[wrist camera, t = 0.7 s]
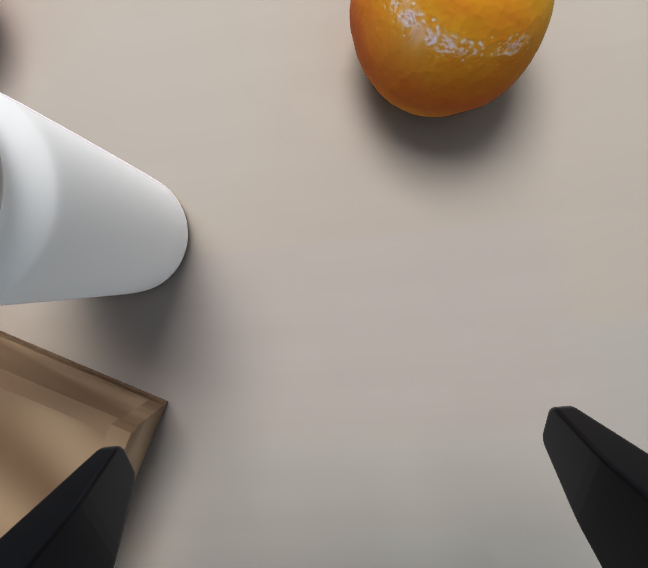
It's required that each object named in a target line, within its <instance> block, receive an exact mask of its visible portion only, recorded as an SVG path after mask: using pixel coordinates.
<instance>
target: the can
mask: <svg viewBox="0 0 648 568" xmlns="http://www.w3.org/2000/svg"><path fill="white" fill-rule="evenodd" d="M187 241H188V226H187V220H186V217H185V214H184V211H183V209H182V207H181V205H180V203H179V201H178V200H177V198H176V197H175V196H174V194H173V193H172V192H171V191H170V190H169V189H168V188H166V187H165V186H164V185H163V184H161V183H160V182H158V181H157V180H155V179H154V178H152V177H150V176H149V175H147V174H145V173H144V172H142V171H140V170H138V169H137V168H135V167H133V166H131V165H130V164H128V163H126V162H124V161H123V160H121V159H119V158H117V157H116V156H114V155H112V154H110V153H109V152H107V151H105V150H103V149H102V148H100V147H98V146H96V145H95V144H93V143H91V142H89V141H87V140H86V139H84V138H82V137H80V136H79V135H77V134H75V133H73V132H72V131H70V130H68V129H66V128H64V127H63V126H61V125H59V124H57V123H56V122H54V121H52V120H50V119H48V118H47V117H45V116H43V115H41V114H40V113H38V112H36V111H34V110H32V109H30V108H29V107H27V106H25V105H23V104H21V103H20V102H18V101H16V100H14V99H12V98H10V97H8V96H6V95H4V94H2V93H0V305H13V304H24V303H36V302H47V301H58V300H69V299H80V298H91V297H102V296H112V295H122V294H130V293H137V292H142V291H146V290H149V289H152V288H154V287H156V286H158V285H160V284H161V283H163V282H164V281H165V280H167V279H168V278H169V277H170V276H171V275H172V274H173V273H174V272H175V270H176V269H177V268H178V266H179V265H180V263H181V261H182V259H183V257H184V254H185V251H186V247H187Z"/></svg>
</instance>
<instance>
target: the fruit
mask: <svg viewBox="0 0 648 568" xmlns="http://www.w3.org/2000/svg"><path fill="white" fill-rule="evenodd" d="M553 5H554V0H351V3H350V28H351V34H352V37H353V41H354V45H355V50H356V53H357V57H358V60H359V62H360V64H361V67H362V69H363V71H364V73H365V74H366V76H367V77H368V79H369V80H370V82H371V83H372V84H373V86H374V87H375V88H376V90H377V91H378V93H380V94H381V95H382V96H383V97H384V98H385V99H386V100H387V101H388V102H390V103H391V104H393V105H394V106H396V107H398V108H400V109H401V110H404V111H407V112H409V113H411V114H413V115H418V116H424V117H445V116H450V115H454V114H458V113H461V112H465V111H468V110H472V109H475V108H478V107H481V106H484V105H485V104H487V103H489V102H491V101H492V100H494V99H496V98H497V97H499V96H500V95H501V94H503V93H504V92H505V91H506V90H507V89H508V88H509V87H510V86H511V85H512V84H513V83H514V82H515V81H516V80H517V79H518V78H519V77H520V75H521V74H522V73H523V72H524V71H525V69H526V68H527V66H528V65H529V64H530V62H531V61H532V59H533V57H534V55H535V53H536V52H537V50H538V48H539V46H540V44H541V42H542V40H543V37H544V35H545V33H546V30H547V28H548V25H549V22H550V19H551V16H552V11H553Z"/></svg>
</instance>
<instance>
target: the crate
mask: <svg viewBox="0 0 648 568" xmlns="http://www.w3.org/2000/svg"><path fill="white" fill-rule="evenodd" d="M166 405H167V401H165V400H163V399H160V398H158V397H156V396H153V395H151V394H149V393H146V392H144V391H141V390H139V389H137V388H134V387H132V386H130V385H127V384H125V383H122V382H120V381H118V380H115V379H113V378H111V377H108V376H106V375H104V374H101V373H99V372H96V371H94V370H92V369H89V368H87V367H85V366H82V365H80V364H77V363H75V362H73V361H70V360H68V359H66V358H63V357H61V356H59V355H56V354H54V353H51V352H49V351H47V350H44V349H42V348H40V347H37V346H35V345H33V344H30V343H28V342H25V341H23V340H21V339H18V338H16V337H14V336H11V335H9V334H6V333H4V332H2V331H0V538H1V537H2V536H3V535H4V534H5V533H6V532H8V531H9V530H10V529H11V528H12V527H13V526H14V525H15V524H16V523H17V522H19V521H20V520H21V519H22V518H23V517H24V516H25V515H26V514H27V513H29V512H30V511H31V510H32V509H33V508H34V507H35V506H36V505H37V504H38V503H40V502H41V501H42V500H43V499H44V498H45V497H46V496H47V495H48V494H50V493H51V492H52V491H53V490H54V489H55V488H56V487H57V486H58V485H59V484H61V483H62V482H63V481H64V480H65V479H66V478H67V477H68V476H69V475H71V474H72V473H73V472H74V471H75V470H76V469H77V468H78V467H79V466H80V465H82V464H83V463H84V462H85V461H86V460H87V459H88V458H89V457H90V456H92V455H93V454H94V453H95V452H96V451H97V450H99V449H100V448H103V447H111V446H121V447H122V448H123V449H124V450H125V452H126V454H127V456H128V458H129V460H130V462H131V464H132V466H133V469H134V472H135V479H136V477H137V474H138V472H139V469H140V467H141V465H142V462H143V460H144V457H145V455H146V453H147V450H148V448H149V445H150V443H151V441H152V438H153V436H154V433H155V431H156V429H157V426H158V424H159V421H160V419H161V417H162V414H163V412H164V409H165V407H166Z"/></svg>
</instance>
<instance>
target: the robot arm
mask: <svg viewBox="0 0 648 568" xmlns="http://www.w3.org/2000/svg"><path fill="white" fill-rule="evenodd" d="M543 441H544V445H545V447H546V450H547V452H548V455H549V457H550V459H551V462H552V464H553V466H554V469H555V471H556V473H557V476H558V478H559V480H560V483H561V485H562V487H563V490H564V492H565V494H566V497H567V499H568V501H569V504H570V506H571V508H572V510H573V513H574V515H575V517H576V519H577V521H578V523H579V525H580V527H581V529H582V531H583V533H584V535H585V536H586V538H587V540H588V542H589V544H590V546H591V548H592V549H593V551H594V553H595V555H596V557H597V559H598V560H599V562H600V564H601V566H602V568H648V453H646V452H645V451H643V450H641V449H640V448H638V447H637V446H635V445H633V444H632V443H630V442H629V441H627V440H626V439H624V438H622V437H621V436H619V435H618V434H616V433H615V432H613V431H611V430H610V429H608V428H607V427H605V426H604V425H602V424H600V423H599V422H597V421H596V420H594V419H592V418H591V417H589V416H588V415H586V414H585V413H583V412H581V411H580V410H578V409H577V408H575V407H572V406H561V407H553V408H551V409H550V410H549V413H548V417H547V420H546V424H545V428H544V432H543ZM134 482H135V472H134V469H133V466H132V464H131V462H130V460H129V458H128V456H127V454H126V452H125V450H124V449H123V448H122V447H121V446H111V447H103V448H100V449H99V450H97V451H96V452H95V453H94V454H93V455H92V456H90V457H89V458H88V459H87V460H86V461H85V462H84V463H83V464H82V465H80V466H79V467H78V468H77V469H76V470H75V471H74V472H73V473H72V474H71V475H69V476H68V477H67V478H66V479H65V480H64V481H63V482H62V483H61V484H59V485H58V486H57V487H56V488H55V489H54V490H53V491H52V492H51V493H50V494H48V495H47V496H46V497H45V498H44V499H43V500H42V501H41V502H40V503H38V504H37V505H36V506H35V507H34V508H33V509H32V510H31V511H30V512H29V513H27V514H26V515H25V516H24V517H23V518H22V519H21V520H20V521H19V522H17V523H16V524H15V525H14V526H13V527H12V528H11V529H10V530H9V531H8V532H6V533H5V534H4V535H3V536H2V537H1V538H0V568H113V567H114V564H115V560H116V557H117V553H118V549H119V545H120V541H121V537H122V533H123V528H124V524H125V520H126V516H127V512H128V507H129V503H130V499H131V495H132V490H133V486H134Z"/></svg>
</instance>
